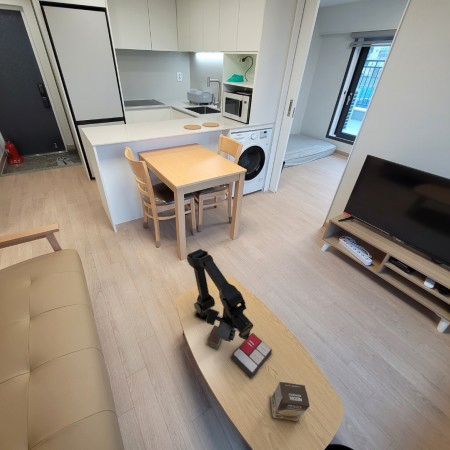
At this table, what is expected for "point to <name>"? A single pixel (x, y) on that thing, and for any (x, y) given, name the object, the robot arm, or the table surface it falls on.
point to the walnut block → (214, 338)
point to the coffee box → (289, 401)
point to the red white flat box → (251, 354)
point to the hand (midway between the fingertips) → (227, 334)
